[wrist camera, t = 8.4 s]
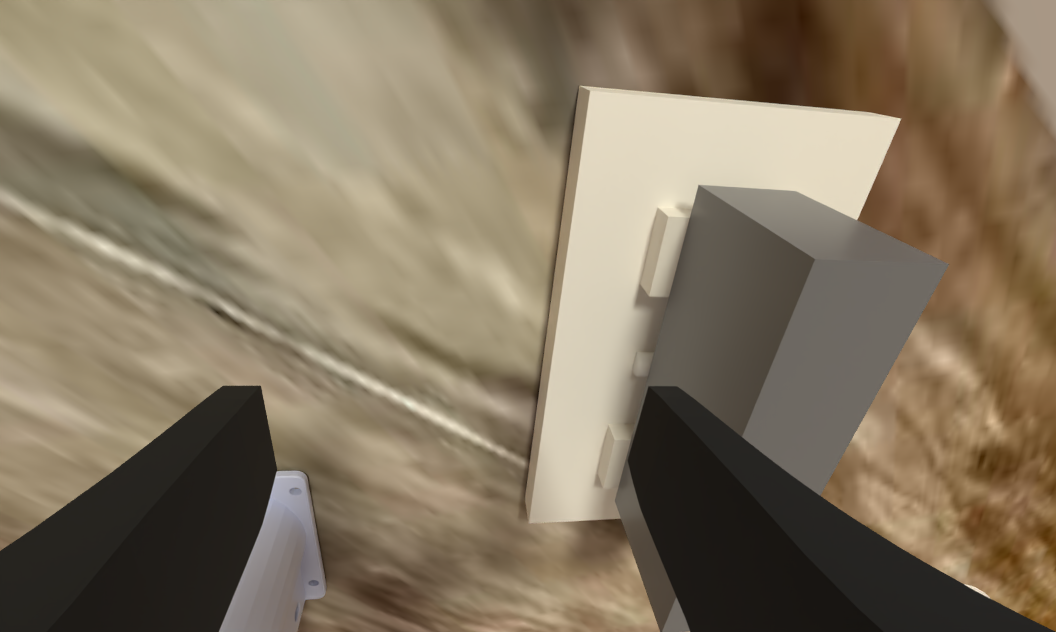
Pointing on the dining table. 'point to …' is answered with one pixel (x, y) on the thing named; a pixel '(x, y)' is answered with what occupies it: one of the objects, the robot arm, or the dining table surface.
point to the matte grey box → (778, 337)
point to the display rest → (656, 256)
